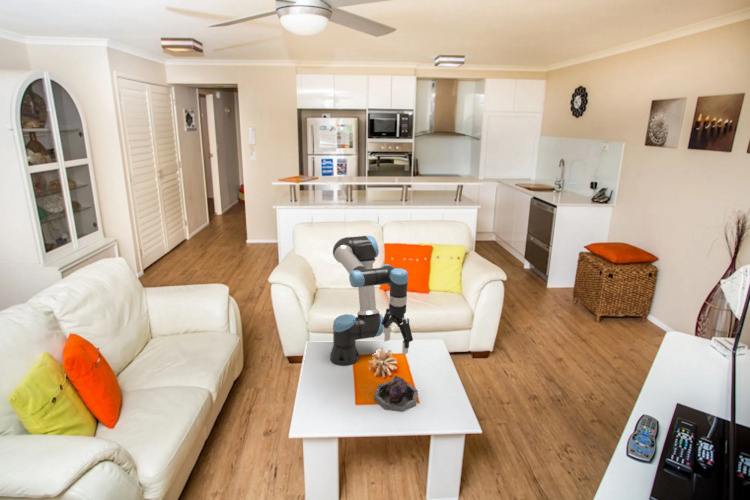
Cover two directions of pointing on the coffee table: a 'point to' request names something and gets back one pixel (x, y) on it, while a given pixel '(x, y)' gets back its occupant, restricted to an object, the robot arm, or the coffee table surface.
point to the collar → (403, 404)
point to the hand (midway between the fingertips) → (395, 346)
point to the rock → (397, 389)
